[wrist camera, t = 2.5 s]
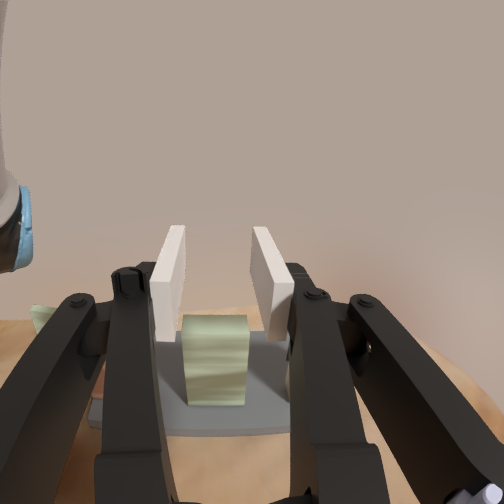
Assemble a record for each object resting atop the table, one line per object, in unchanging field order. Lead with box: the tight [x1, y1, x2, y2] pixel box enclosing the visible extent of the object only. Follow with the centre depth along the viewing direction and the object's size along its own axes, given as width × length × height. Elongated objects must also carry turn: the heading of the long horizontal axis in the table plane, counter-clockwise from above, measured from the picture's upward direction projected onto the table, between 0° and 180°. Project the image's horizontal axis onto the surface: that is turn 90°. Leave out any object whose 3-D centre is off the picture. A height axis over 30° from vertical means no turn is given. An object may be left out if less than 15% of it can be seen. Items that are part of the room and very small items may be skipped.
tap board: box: [87, 331, 290, 437], centre depth 36 cm, size 17×28×2 cm, turn 97°
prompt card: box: [30, 305, 57, 334], centre depth 31 cm, size 6×3×10 cm, turn 92°
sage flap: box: [181, 315, 250, 406], centre depth 30 cm, size 3×6×10 cm, turn 97°
